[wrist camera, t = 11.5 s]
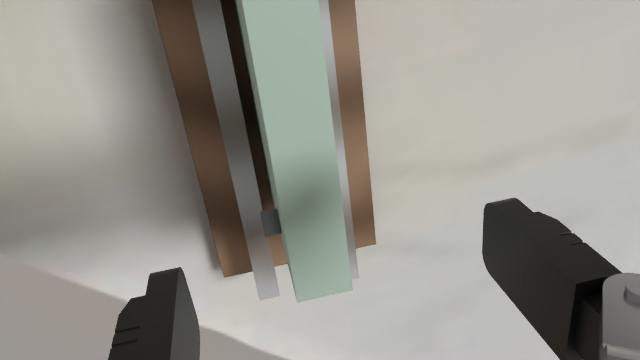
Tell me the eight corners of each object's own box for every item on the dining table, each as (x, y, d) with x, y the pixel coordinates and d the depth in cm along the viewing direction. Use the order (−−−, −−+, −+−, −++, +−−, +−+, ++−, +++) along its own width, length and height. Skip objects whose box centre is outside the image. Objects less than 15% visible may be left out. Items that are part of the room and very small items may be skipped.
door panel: (204, -62, 24) (202, -63, 15) (271, -71, 24) (309, -78, 15) (257, 198, 30) (278, 306, 21) (310, 187, 30) (352, 289, 21)
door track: (124, -123, 23) (106, -136, 19) (334, -148, 24) (358, -165, 20) (223, 263, 33) (225, 308, 29) (369, 232, 34) (390, 270, 30)
